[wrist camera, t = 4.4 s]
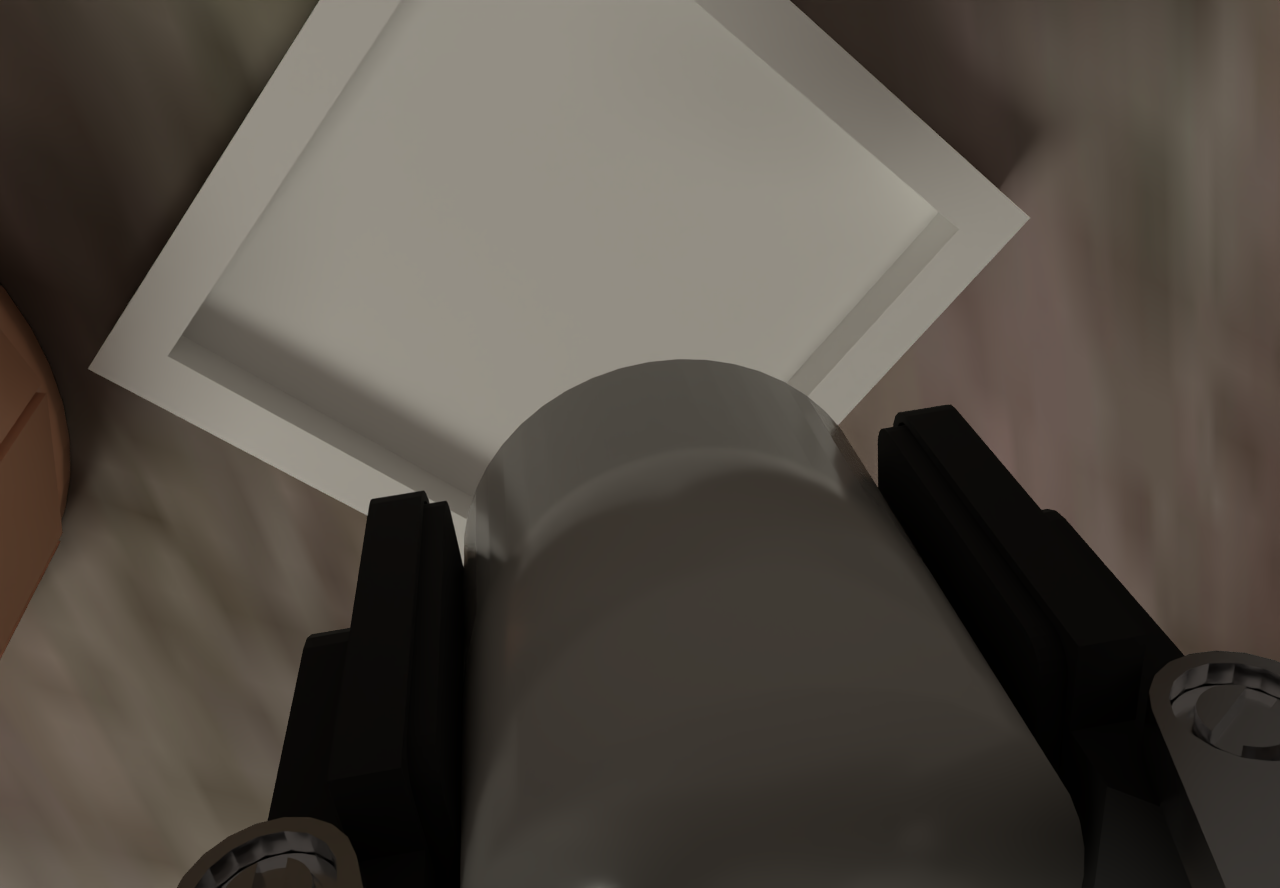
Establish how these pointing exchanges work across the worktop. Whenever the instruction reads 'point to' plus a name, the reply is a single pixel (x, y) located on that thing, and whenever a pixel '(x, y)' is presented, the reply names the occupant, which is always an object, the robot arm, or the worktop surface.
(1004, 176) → the worktop surface
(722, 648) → the grey cylinder
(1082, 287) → the worktop surface
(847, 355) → the parts tray
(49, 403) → the bowl
